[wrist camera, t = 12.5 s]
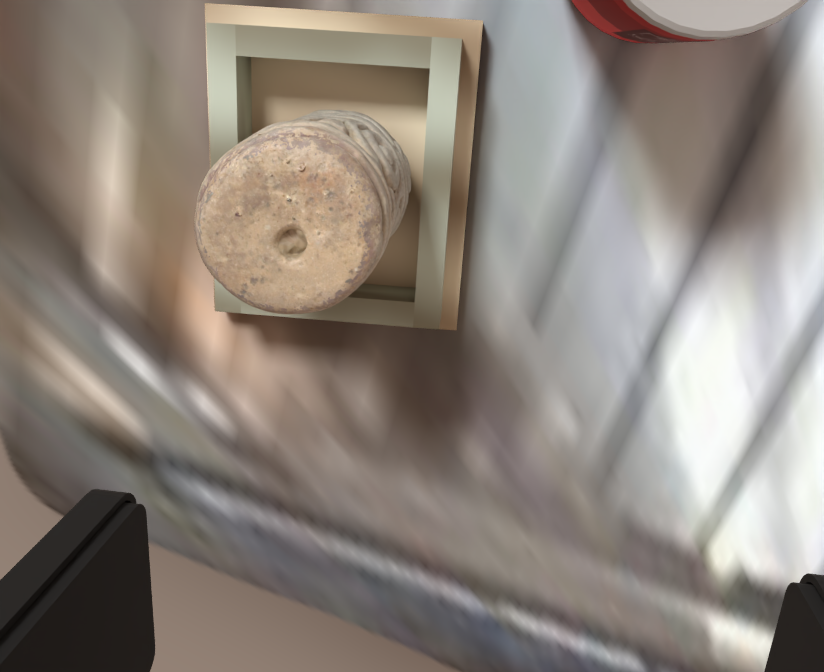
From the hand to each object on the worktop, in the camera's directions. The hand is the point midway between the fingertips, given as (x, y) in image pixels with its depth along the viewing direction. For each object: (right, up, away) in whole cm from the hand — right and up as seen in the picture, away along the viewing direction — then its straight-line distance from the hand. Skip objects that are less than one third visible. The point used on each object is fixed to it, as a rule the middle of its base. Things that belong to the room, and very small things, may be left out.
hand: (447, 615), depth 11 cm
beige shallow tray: (-4, +12, +25) cm, 28 cm away
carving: (-4, +11, +24) cm, 27 cm away
